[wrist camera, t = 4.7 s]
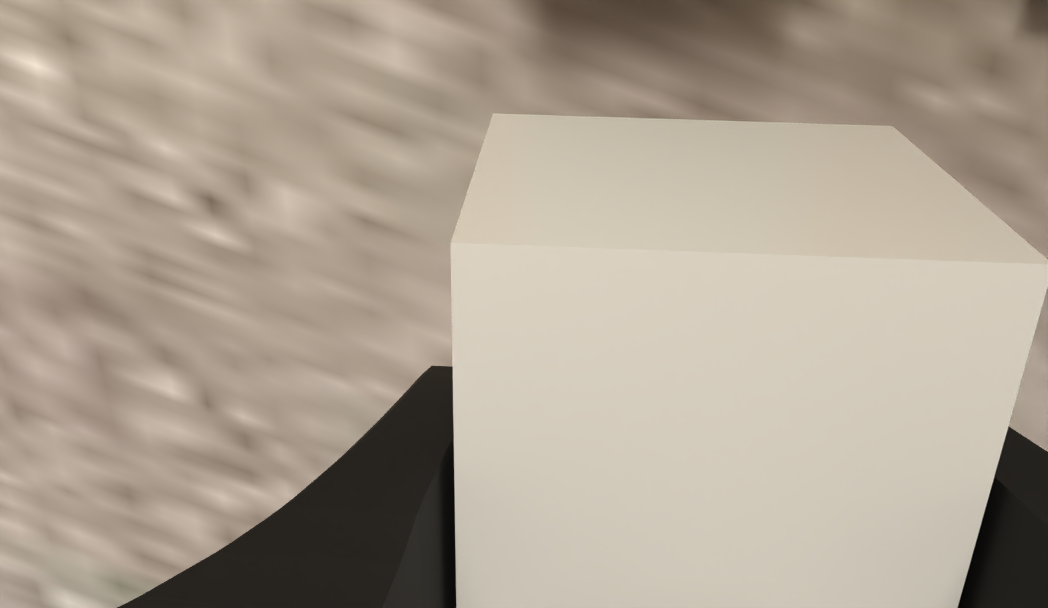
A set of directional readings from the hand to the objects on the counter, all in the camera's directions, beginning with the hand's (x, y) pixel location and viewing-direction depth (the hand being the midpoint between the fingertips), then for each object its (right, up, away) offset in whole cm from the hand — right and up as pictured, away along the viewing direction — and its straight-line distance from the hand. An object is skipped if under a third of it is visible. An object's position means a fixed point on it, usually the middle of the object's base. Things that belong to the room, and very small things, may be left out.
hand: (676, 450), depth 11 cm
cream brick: (0, +1, +1) cm, 1 cm away
